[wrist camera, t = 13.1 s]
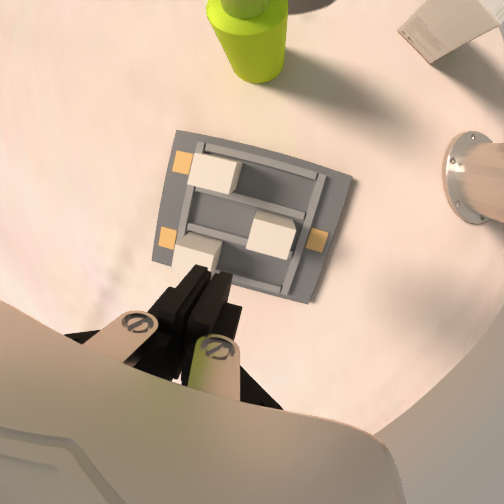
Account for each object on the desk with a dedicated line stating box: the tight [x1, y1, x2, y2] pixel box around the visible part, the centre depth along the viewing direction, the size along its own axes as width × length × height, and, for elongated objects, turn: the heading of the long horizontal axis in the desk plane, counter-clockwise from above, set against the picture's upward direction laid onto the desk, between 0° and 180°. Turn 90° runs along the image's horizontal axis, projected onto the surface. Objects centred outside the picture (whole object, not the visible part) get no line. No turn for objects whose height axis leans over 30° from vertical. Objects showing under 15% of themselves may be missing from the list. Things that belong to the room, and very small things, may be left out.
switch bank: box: [152, 130, 352, 304], centre depth 31 cm, size 20×16×2 cm
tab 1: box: [187, 153, 243, 195], centre depth 27 cm, size 4×3×5 cm
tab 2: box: [171, 232, 223, 276], centre depth 29 cm, size 4×3×5 cm
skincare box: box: [397, 0, 504, 64], centre depth 14 cm, size 8×7×16 cm
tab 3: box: [246, 209, 296, 260], centre depth 28 cm, size 4×3×5 cm
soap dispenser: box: [206, 0, 288, 83], centre depth 16 cm, size 6×7×20 cm
